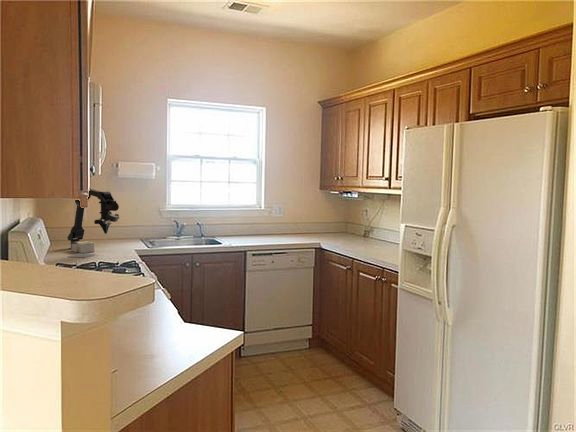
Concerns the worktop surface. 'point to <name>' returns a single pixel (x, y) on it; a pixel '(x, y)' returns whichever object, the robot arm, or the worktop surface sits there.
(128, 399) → the worktop surface
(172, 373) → the worktop surface
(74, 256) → the mat
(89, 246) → the coffee box
